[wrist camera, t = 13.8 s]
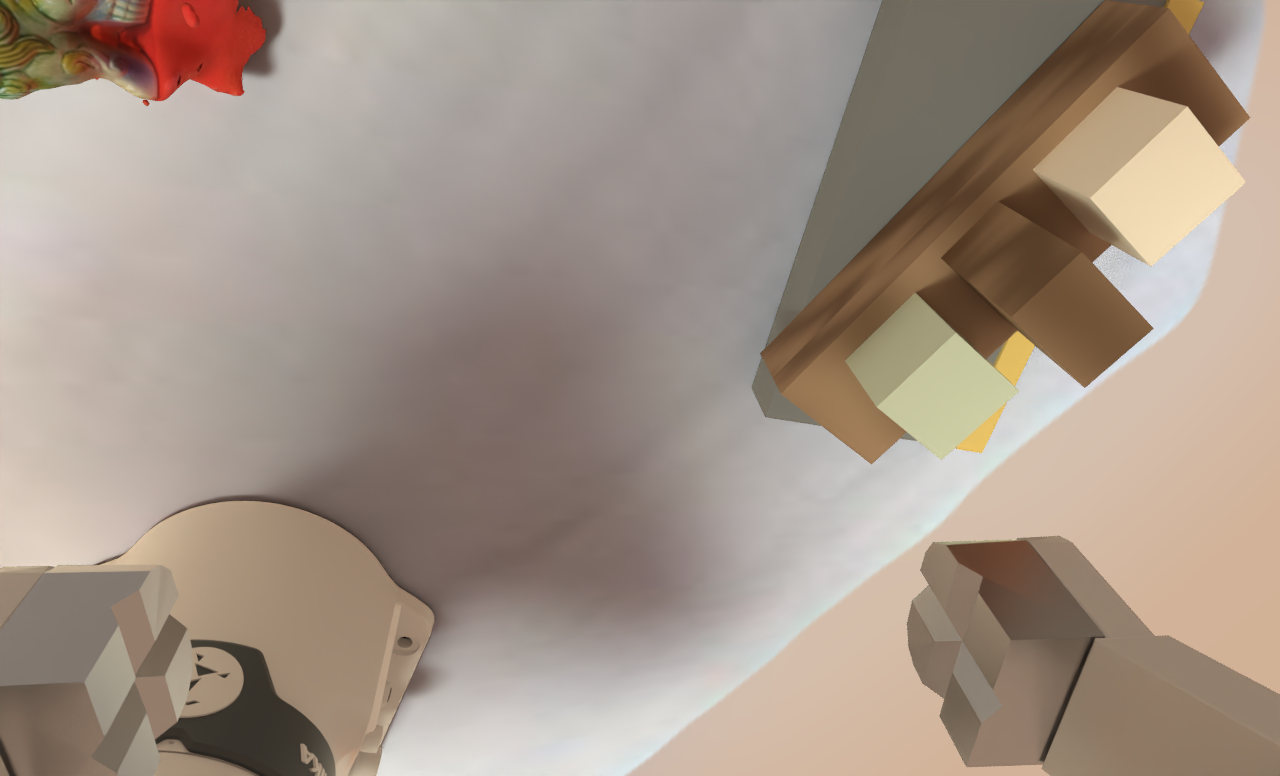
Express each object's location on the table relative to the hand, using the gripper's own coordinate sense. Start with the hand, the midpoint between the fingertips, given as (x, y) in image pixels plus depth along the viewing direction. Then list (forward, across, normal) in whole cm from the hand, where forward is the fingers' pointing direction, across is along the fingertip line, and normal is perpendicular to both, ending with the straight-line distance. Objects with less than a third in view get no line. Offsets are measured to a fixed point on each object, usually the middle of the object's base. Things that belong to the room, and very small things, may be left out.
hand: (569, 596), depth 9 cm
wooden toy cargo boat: (+28, -19, +5) cm, 34 cm away
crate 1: (+24, -16, +9) cm, 30 cm away
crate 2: (+24, -22, 0) cm, 32 cm away
